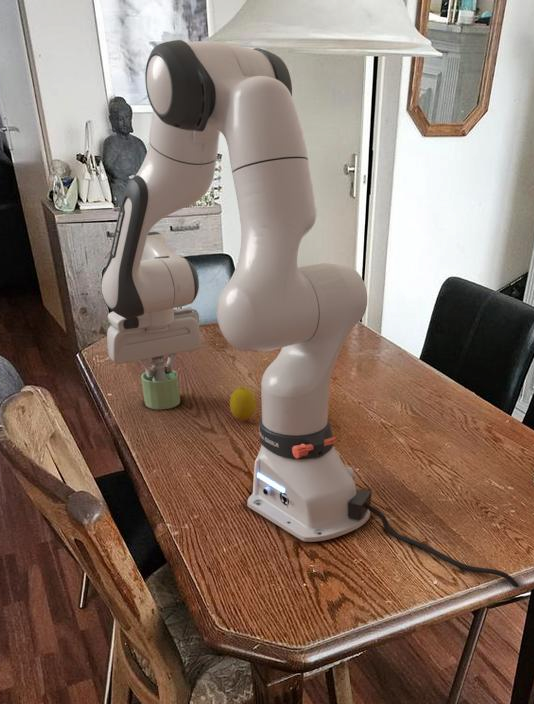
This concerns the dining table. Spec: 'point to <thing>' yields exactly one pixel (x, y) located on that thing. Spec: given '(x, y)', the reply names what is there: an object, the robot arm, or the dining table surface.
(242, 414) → the lemon
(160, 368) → the rook chess piece
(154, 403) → the cup
